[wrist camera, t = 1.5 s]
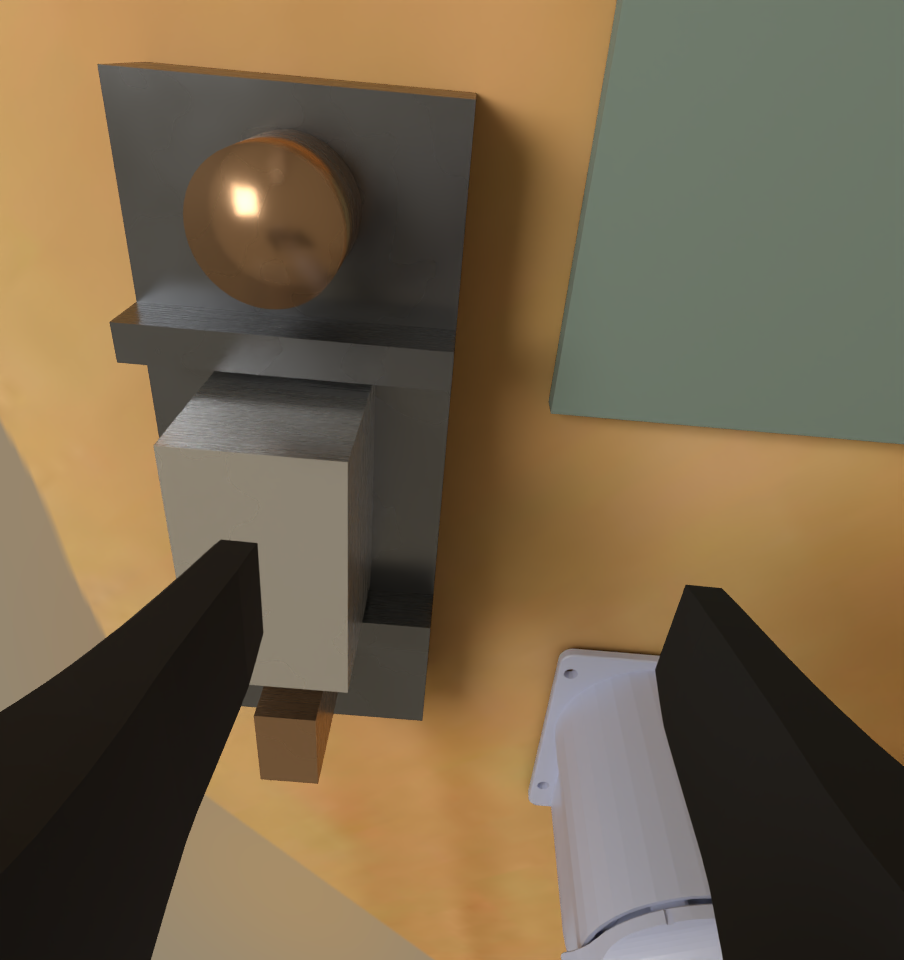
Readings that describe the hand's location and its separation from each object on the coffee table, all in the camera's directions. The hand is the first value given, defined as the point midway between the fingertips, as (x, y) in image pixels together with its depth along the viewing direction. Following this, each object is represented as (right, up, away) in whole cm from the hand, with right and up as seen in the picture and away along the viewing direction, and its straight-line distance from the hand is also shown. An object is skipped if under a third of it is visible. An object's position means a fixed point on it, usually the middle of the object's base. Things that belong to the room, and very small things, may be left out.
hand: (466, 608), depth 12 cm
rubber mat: (+10, +10, +6) cm, 15 cm away
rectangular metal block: (-5, +2, +8) cm, 10 cm away
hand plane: (-4, +3, +10) cm, 12 cm away
